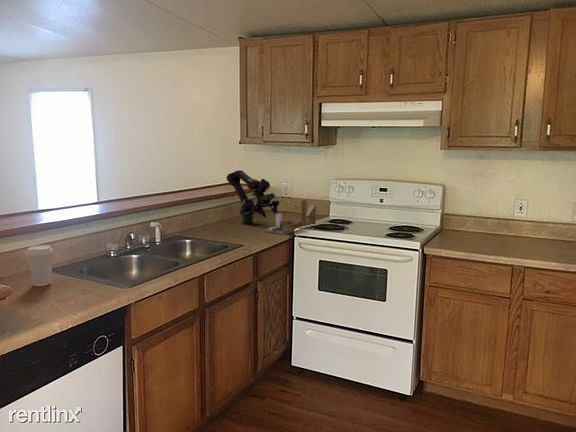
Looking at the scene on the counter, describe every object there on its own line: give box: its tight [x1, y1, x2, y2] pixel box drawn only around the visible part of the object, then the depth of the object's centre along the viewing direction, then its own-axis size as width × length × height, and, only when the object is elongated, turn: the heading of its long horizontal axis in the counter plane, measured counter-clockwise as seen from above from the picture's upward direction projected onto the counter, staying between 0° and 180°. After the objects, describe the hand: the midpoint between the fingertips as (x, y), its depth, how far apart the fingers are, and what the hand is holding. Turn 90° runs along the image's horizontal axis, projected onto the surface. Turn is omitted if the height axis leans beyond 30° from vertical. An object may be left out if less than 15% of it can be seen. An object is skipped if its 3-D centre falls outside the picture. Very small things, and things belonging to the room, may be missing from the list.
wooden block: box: [300, 199, 317, 226], centre depth 307 cm, size 4×11×18 cm, turn 131°
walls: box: [282, 219, 301, 233], centre depth 298 cm, size 16×18×4 cm
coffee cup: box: [25, 244, 54, 284], centre depth 189 cm, size 10×10×15 cm
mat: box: [263, 226, 295, 235], centre depth 298 cm, size 16×18×1 cm
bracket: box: [267, 213, 283, 232], centre depth 294 cm, size 4×8×10 cm, turn 131°
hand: (271, 216), depth 300 cm, fingers open, 9 cm apart
